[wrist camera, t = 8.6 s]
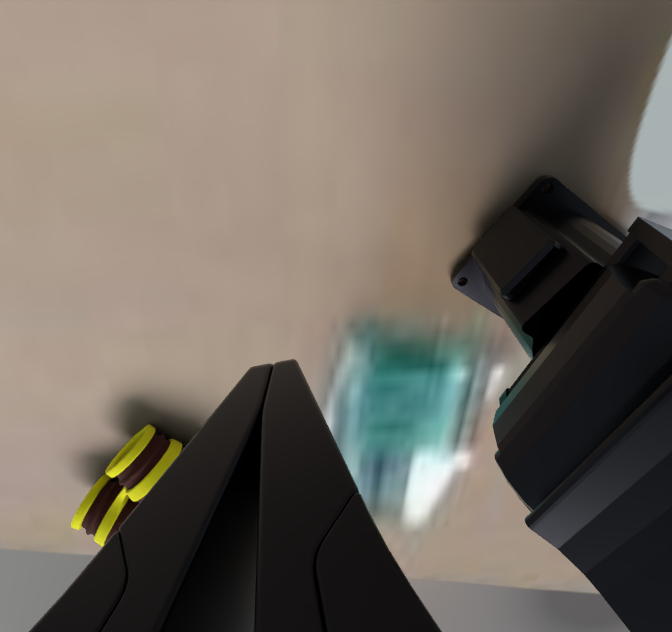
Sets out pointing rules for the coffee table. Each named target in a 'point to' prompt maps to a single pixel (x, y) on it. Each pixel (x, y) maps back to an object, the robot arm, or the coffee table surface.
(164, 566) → the robot arm
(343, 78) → the coffee table surface
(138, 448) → the opera glasses
